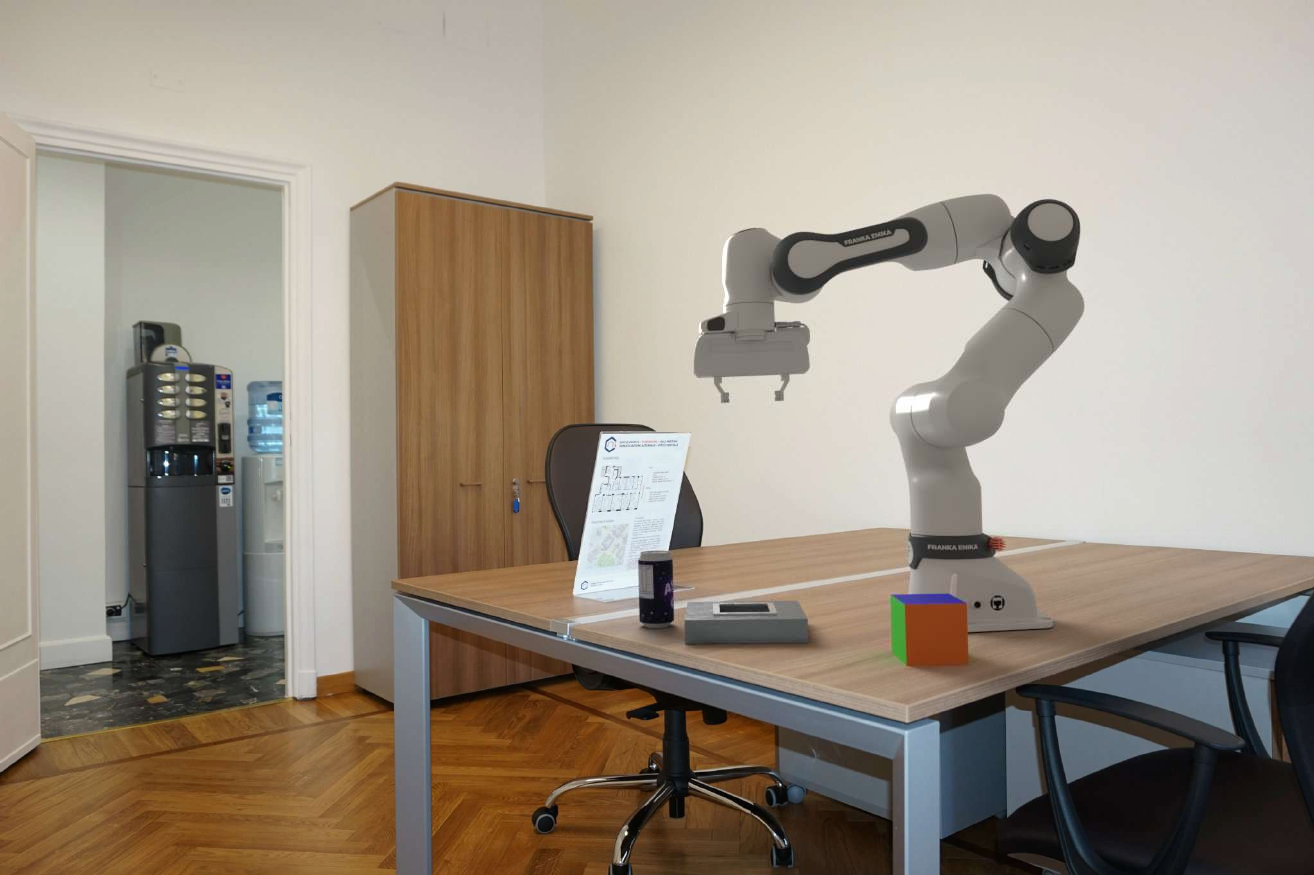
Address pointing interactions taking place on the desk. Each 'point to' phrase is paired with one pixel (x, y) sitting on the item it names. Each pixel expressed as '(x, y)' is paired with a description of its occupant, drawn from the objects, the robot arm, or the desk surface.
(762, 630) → the housing
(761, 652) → the desk surface
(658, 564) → the beverage can
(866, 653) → the desk surface
